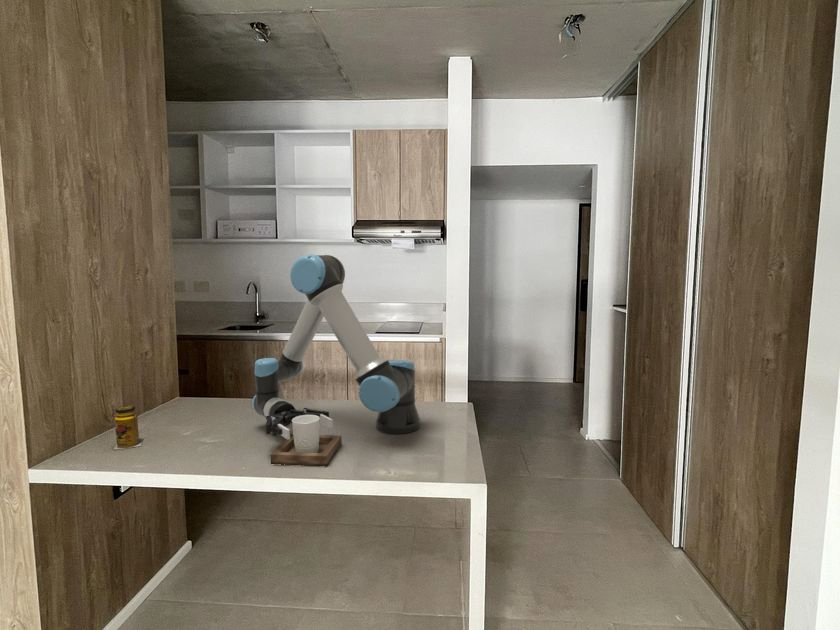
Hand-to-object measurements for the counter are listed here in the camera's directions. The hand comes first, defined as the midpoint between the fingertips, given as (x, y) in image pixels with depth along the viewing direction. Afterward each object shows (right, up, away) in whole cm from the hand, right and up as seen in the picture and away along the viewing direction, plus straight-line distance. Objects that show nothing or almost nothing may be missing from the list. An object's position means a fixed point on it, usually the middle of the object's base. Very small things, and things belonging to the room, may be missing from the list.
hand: (310, 429), depth 141 cm
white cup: (-2, -8, +3) cm, 8 cm away
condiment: (-60, -8, +13) cm, 62 cm away
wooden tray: (-1, -8, +3) cm, 9 cm away
